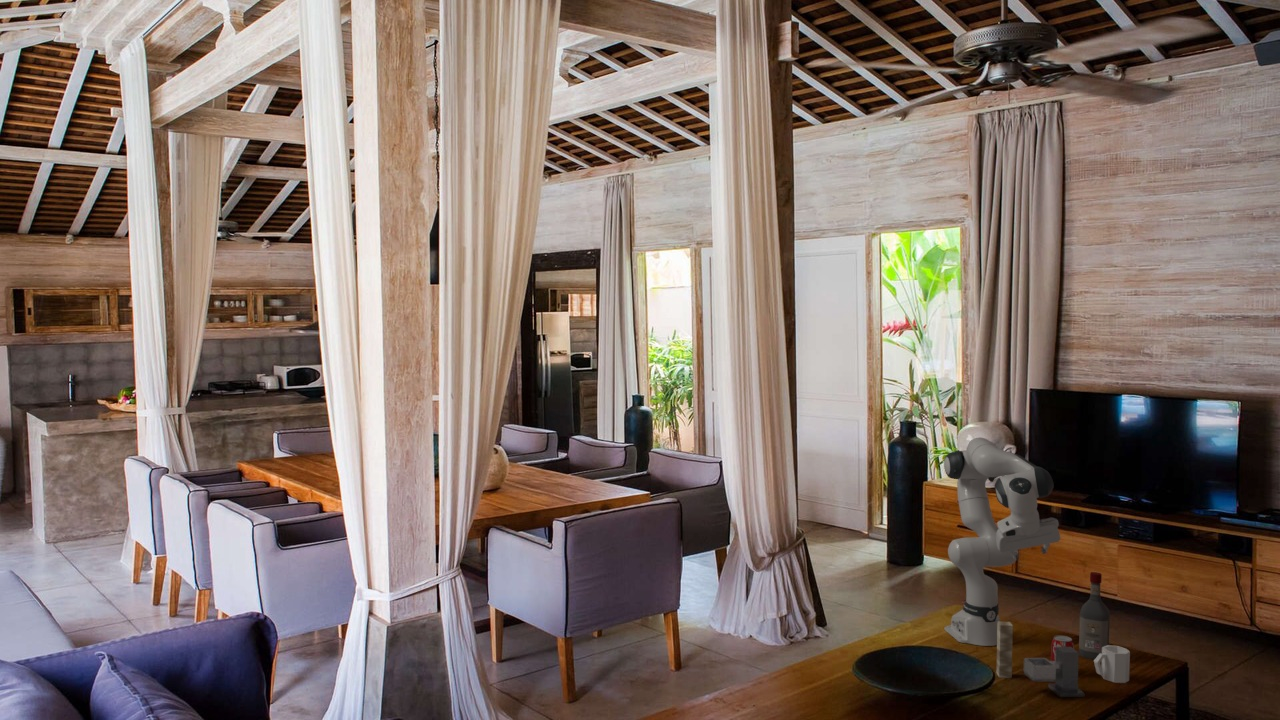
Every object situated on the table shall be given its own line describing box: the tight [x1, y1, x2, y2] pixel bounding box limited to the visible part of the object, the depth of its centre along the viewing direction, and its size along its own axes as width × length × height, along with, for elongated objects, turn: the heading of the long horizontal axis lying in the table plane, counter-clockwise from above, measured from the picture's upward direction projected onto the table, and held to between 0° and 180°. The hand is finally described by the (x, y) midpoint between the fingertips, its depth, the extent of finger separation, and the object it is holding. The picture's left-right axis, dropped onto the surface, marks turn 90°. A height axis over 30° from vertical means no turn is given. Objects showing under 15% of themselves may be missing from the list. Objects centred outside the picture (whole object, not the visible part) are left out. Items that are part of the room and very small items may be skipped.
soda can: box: [1050, 634, 1075, 661], centre depth 324 cm, size 7×7×12 cm
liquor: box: [1078, 571, 1111, 661], centre depth 339 cm, size 9×9×30 cm
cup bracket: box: [1023, 647, 1085, 698], centre depth 307 cm, size 17×8×14 cm, turn 92°
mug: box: [1093, 644, 1131, 684], centre depth 318 cm, size 12×9×10 cm
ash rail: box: [995, 620, 1014, 679], centre depth 321 cm, size 4×4×18 cm
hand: (1030, 555), depth 321 cm, fingers open, 8 cm apart
